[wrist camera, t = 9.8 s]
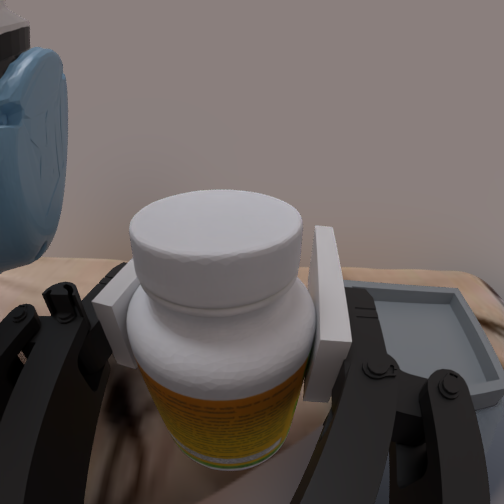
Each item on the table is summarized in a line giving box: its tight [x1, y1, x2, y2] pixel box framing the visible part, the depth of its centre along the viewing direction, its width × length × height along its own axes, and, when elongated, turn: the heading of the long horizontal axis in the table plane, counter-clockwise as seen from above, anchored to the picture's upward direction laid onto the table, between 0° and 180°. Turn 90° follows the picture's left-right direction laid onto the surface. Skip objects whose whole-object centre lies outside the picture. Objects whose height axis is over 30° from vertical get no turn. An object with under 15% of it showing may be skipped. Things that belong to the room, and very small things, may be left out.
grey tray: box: [343, 280, 504, 410], centre depth 20 cm, size 14×14×2 cm
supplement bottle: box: [126, 190, 316, 471], centre depth 9 cm, size 5×5×10 cm
